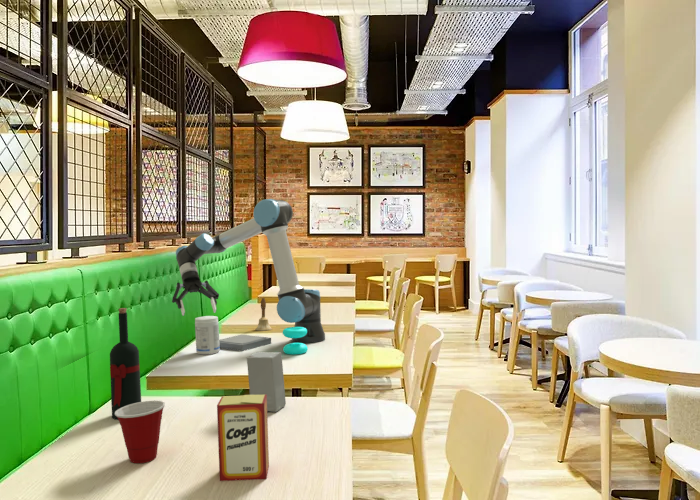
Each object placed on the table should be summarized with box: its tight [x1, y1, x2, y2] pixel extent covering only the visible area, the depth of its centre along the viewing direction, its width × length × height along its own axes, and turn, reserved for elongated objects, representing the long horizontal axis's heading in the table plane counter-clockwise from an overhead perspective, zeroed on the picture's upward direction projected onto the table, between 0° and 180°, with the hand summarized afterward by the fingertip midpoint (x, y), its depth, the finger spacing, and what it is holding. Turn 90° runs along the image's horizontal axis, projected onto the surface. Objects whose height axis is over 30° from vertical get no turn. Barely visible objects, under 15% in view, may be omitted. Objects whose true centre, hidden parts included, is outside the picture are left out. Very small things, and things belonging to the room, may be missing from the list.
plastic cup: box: [115, 400, 166, 464], centre depth 135 cm, size 11×11×12 cm
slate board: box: [219, 334, 272, 352], centre depth 263 cm, size 18×18×3 cm
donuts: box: [282, 326, 309, 356], centre depth 245 cm, size 10×10×10 cm
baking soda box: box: [216, 394, 270, 482], centre depth 125 cm, size 10×6×16 cm
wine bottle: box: [109, 307, 142, 421], centre depth 165 cm, size 8×10×30 cm
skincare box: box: [246, 351, 287, 413], centre depth 170 cm, size 8×7×16 cm
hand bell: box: [255, 297, 273, 332], centre depth 303 cm, size 8×8×16 cm
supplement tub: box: [194, 315, 221, 356], centre depth 249 cm, size 10×10×15 cm
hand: (199, 312), depth 257 cm, fingers open, 13 cm apart
